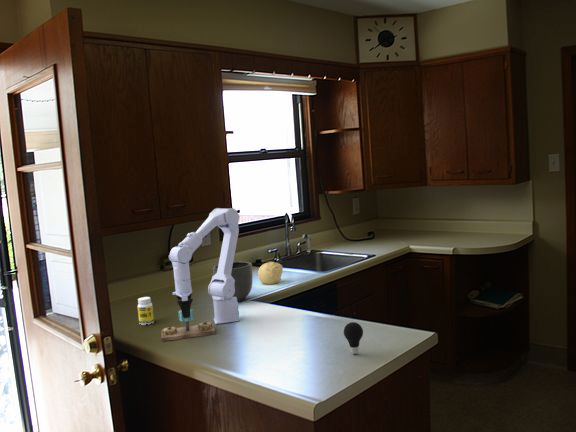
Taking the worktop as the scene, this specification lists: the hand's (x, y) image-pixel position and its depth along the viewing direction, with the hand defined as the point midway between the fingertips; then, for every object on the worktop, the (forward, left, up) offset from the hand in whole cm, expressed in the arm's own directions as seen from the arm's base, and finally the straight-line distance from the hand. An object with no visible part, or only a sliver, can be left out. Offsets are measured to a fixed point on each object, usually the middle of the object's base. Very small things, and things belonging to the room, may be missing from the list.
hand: (186, 315), depth 201 cm
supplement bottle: (+15, -22, -7) cm, 28 cm away
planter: (-23, -39, -7) cm, 46 cm away
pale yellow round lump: (-44, -64, -7) cm, 78 cm away
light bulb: (-49, +46, -7) cm, 67 cm away
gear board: (0, 0, -7) cm, 7 cm away
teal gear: (0, 0, -1) cm, 1 cm away
